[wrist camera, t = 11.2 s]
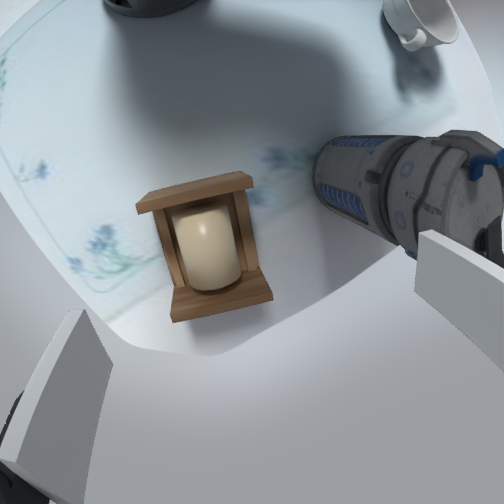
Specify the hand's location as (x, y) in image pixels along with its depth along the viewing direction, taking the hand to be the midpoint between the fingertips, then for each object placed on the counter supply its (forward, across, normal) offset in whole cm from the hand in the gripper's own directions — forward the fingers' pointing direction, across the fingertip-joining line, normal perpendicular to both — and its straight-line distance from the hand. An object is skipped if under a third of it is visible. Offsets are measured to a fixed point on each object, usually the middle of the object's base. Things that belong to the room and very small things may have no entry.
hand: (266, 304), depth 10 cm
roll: (+22, -3, -5) cm, 23 cm away
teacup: (+27, +30, +21) cm, 46 cm away
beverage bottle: (+26, +16, -2) cm, 31 cm away
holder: (+26, -3, -5) cm, 27 cm away
